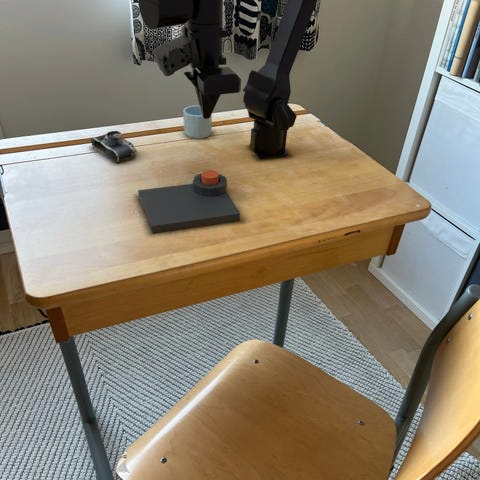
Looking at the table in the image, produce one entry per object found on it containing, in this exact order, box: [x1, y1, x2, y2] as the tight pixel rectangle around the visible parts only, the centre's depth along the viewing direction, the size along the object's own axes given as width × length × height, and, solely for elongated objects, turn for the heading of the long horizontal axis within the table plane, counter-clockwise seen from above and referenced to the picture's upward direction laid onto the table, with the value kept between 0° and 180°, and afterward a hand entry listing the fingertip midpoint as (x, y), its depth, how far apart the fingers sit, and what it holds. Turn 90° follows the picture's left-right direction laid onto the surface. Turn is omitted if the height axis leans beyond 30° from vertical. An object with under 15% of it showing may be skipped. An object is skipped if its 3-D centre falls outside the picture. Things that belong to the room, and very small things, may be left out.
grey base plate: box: [137, 172, 241, 234], centre depth 88 cm, size 16×12×3 cm
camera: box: [90, 130, 138, 163], centre depth 102 cm, size 5×10×4 cm, turn 41°
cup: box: [182, 105, 213, 140], centre depth 111 cm, size 6×6×5 cm
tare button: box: [201, 169, 220, 185], centre depth 90 cm, size 3×3×2 cm
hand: (206, 118), depth 92 cm, fingers closed
